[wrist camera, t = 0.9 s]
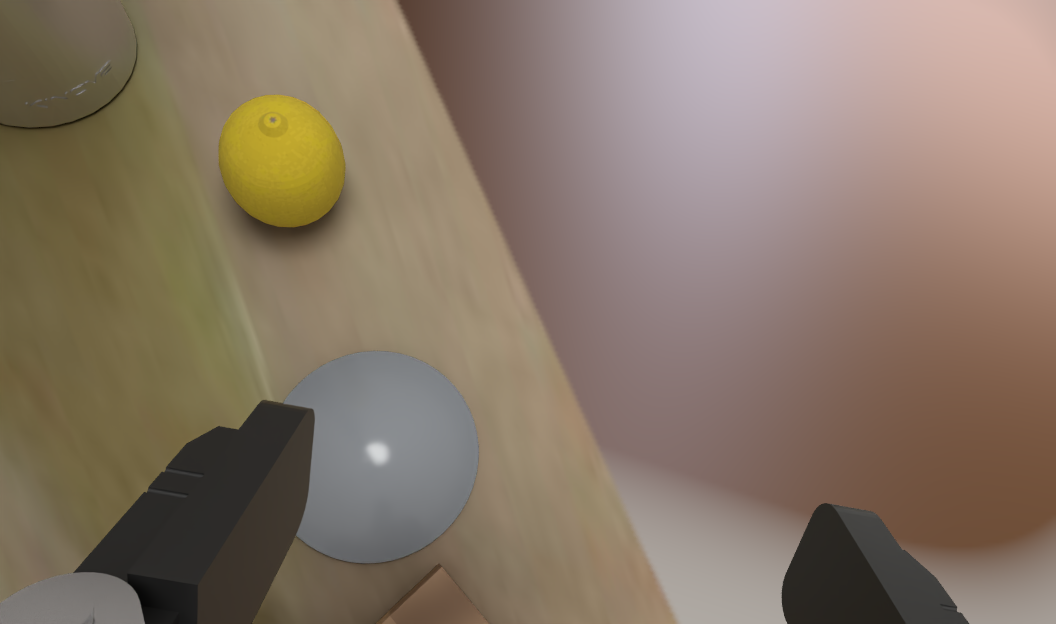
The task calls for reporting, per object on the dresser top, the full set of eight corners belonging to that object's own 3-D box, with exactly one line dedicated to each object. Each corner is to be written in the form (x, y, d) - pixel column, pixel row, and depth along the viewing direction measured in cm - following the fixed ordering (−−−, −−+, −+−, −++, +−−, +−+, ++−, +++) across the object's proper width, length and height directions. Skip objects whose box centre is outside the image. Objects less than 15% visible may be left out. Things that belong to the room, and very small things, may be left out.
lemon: (313, 268, 34) (297, 204, 27) (215, 216, 34) (170, 137, 27) (367, 184, 36) (366, 102, 29) (274, 134, 36) (248, 38, 28)
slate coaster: (221, 443, 31) (219, 442, 31) (391, 314, 35) (391, 311, 34) (358, 610, 31) (357, 612, 30) (516, 462, 34) (519, 462, 34)
